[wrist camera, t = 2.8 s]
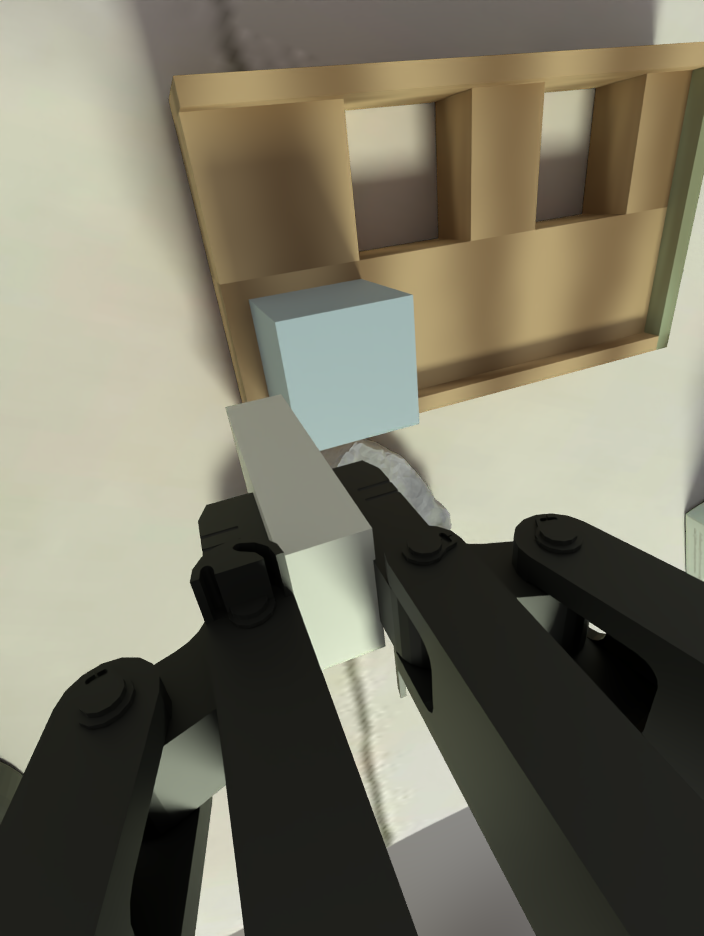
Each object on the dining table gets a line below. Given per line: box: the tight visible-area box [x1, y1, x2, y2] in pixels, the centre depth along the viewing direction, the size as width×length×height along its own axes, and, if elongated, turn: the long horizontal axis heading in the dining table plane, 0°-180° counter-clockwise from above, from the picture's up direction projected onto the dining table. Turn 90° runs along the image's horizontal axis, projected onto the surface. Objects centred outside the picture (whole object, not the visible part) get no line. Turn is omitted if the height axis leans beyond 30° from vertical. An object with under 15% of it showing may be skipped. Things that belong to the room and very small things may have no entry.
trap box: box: [169, 42, 704, 413], centre depth 23 cm, size 24×14×4 cm, turn 97°
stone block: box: [320, 439, 452, 530], centre depth 30 cm, size 12×5×10 cm
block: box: [249, 279, 419, 451], centre depth 20 cm, size 5×5×5 cm
